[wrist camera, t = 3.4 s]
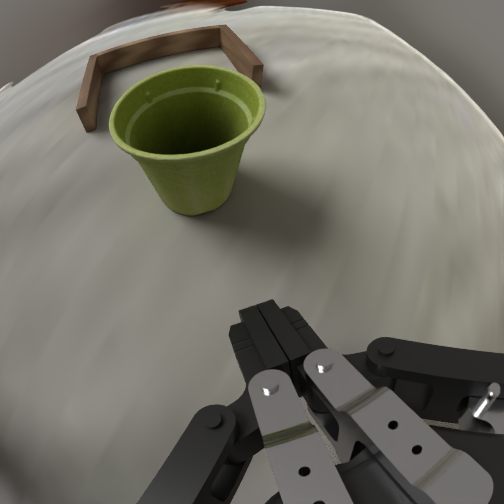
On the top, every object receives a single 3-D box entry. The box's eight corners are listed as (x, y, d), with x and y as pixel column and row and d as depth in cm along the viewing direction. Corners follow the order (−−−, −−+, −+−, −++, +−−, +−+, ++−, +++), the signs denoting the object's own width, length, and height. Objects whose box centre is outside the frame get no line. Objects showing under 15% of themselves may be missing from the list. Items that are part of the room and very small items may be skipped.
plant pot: (270, 164, 23) (286, 82, 15) (224, 255, 20) (221, 181, 12) (178, 134, 24) (167, 58, 16) (121, 211, 20) (79, 137, 12)
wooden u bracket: (86, 132, 24) (76, 109, 21) (95, 73, 29) (90, 56, 26) (260, 88, 28) (263, 64, 25) (225, 42, 33) (225, 24, 30)
